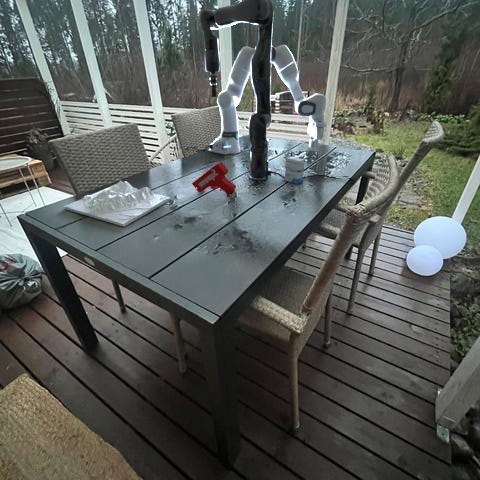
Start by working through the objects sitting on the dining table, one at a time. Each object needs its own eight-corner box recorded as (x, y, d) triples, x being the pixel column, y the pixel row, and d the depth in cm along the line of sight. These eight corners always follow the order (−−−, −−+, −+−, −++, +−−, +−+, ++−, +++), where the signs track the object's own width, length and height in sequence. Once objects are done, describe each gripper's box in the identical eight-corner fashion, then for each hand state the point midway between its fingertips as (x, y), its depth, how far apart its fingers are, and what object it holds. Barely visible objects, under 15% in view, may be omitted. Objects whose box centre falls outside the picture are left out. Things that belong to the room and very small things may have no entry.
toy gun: (240, 187, 127) (221, 160, 123) (237, 190, 124) (218, 163, 120) (214, 205, 137) (195, 180, 133) (210, 208, 134) (191, 183, 130)
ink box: (302, 181, 142) (305, 159, 136) (297, 184, 139) (300, 161, 133) (289, 177, 147) (291, 156, 141) (284, 180, 144) (285, 158, 138)
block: (308, 146, 186) (309, 139, 184) (315, 145, 186) (316, 138, 184) (310, 147, 182) (311, 140, 180) (317, 147, 183) (318, 140, 180)
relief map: (124, 226, 104) (120, 214, 101) (64, 208, 117) (60, 197, 114) (169, 200, 124) (168, 189, 121) (115, 187, 137) (112, 177, 135)
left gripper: (306, 119, 184) (304, 140, 192) (316, 124, 167) (313, 147, 175) (315, 119, 185) (312, 140, 192) (326, 124, 168) (323, 147, 175)
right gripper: (220, 60, 133) (221, 97, 142) (219, 60, 145) (220, 95, 154) (204, 60, 133) (207, 97, 141) (205, 61, 145) (207, 95, 153)
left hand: (313, 143), depth 183 cm, fingers closed on block, 4 cm apart
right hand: (214, 96), depth 148 cm, fingers open, 8 cm apart
